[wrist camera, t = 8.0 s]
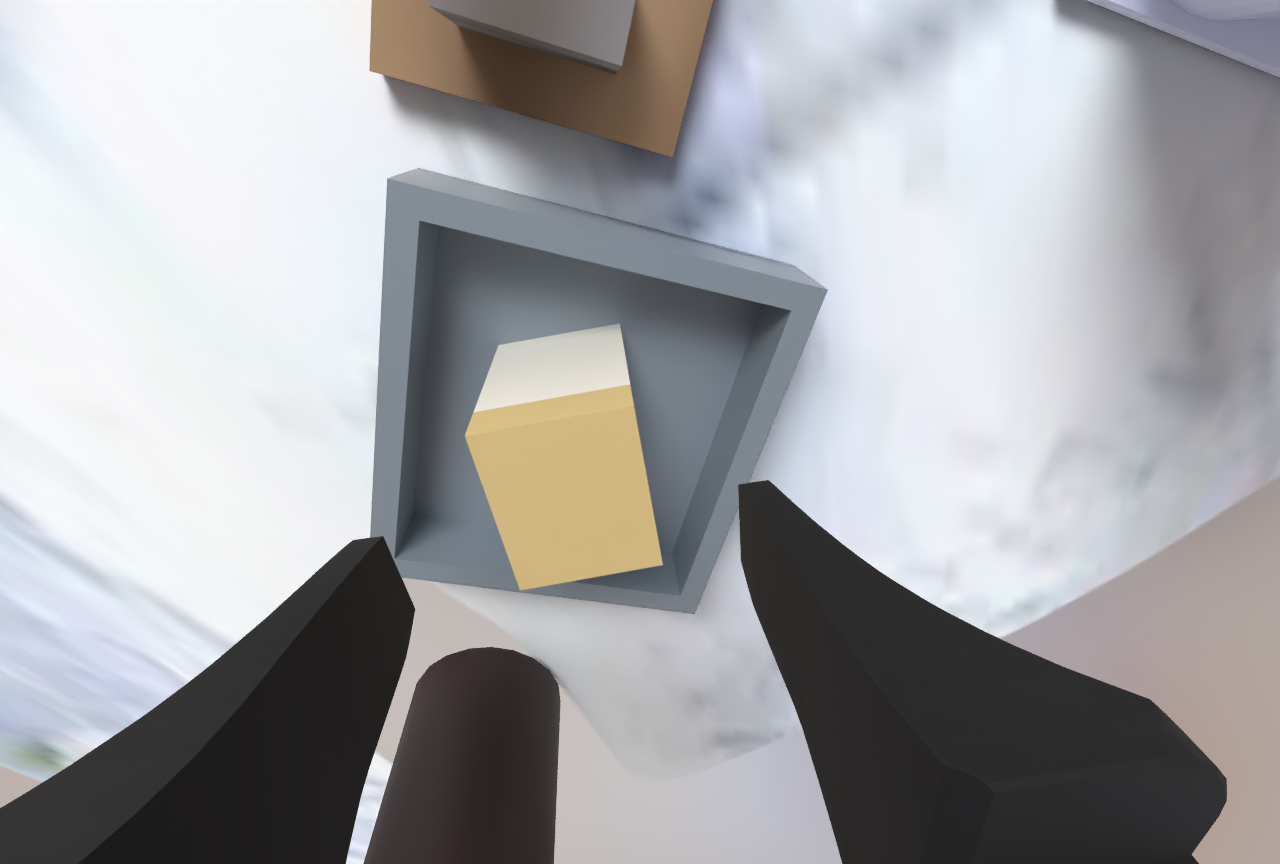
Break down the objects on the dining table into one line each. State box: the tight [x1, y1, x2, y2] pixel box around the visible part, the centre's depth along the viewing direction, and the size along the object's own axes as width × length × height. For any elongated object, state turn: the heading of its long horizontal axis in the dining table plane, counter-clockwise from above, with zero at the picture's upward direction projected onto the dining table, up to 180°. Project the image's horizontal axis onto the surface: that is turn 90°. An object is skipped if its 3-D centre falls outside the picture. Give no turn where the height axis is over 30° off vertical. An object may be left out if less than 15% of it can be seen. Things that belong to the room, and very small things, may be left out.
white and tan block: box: [465, 323, 663, 590], centre depth 17 cm, size 4×5×6 cm
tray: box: [370, 168, 828, 614], centre depth 19 cm, size 12×13×3 cm
